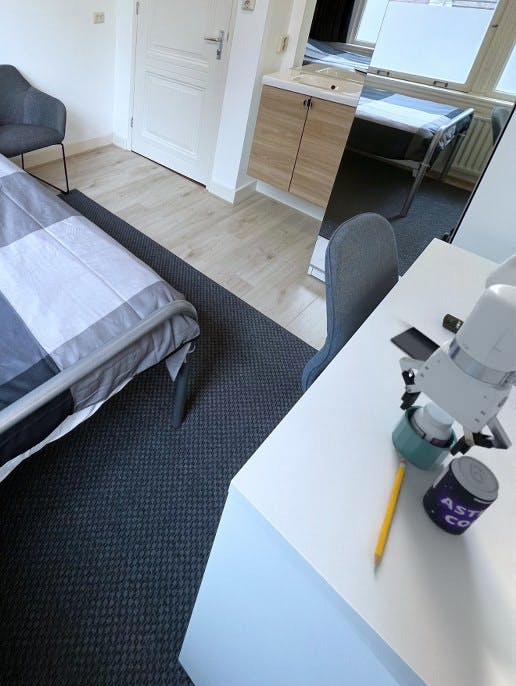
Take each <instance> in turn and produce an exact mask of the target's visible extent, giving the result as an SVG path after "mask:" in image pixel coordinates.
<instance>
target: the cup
mask: <svg viewBox="0 0 516 686" xmlns="http://www.w3.org/2000/svg"><path fill="white" fill-rule="evenodd" d="M423 407H424V406H422V405H412V406H410V407H409V408H407V409H406V410H404V411H403V413H402V415H401V416H400V417H399V420H398V421H397V423H396V424H395V426H394V427H393V429H392V432H391V438H392V441H393V444H394V446H395V448H396V449H397V451H398V452H399V453H400V454H401V455H402V457H403V458H404V459H405V460H406V461H408V462H409V463H411V464H412V465H413V466H415V467H417V468H419V469H422V470H425V471H435V470H438V469H439V468H440V467H441V466H442V465H443V464H444V463H445V461H446V460H447V459H448V458H449V456H450V455H451V454H450V453H451V452H450V450H451V449H452V448H453V446H454V445H455V444H456V443H457V441H458V437H457V436H456V435H457V434H456V431H455V430H454V429H453V428H452V427H451V429H452V434H451V437H450V438H449V440H448V441H447V442H446V444H445V445H444V446H443V448H440V447H437V446H434V445H431V444H430V443H428V442H427V441H425V440H423V439H422V438H421V437H420V436H419V435H418V434H417V433H416V432H415V431H414V430H413V428H412V427H411V425H410V424H409V421H410V419H411V418H412V416H413V415H414V413H415V411H416V410H417V409H419V408H423Z"/></svg>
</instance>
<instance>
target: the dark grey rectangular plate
mask: <svg viewBox="0 0 516 686" xmlns="http://www.w3.org/2000/svg"><path fill="white" fill-rule="evenodd" d="M390 341H391V342H393V343H394V344H395V345H396V346H397V347H399V348H400V349H401V350H402V351H404V352H405V353H406V354H408V355H409V356H410V358H412V359H416V360H421V361H425V362H426V361H427V360H428V359H429V358H430V356H431V355H432V354H433V353H434V352H435V351H436V350H437V349H438V348H439V347H440V346H441V345H440V344H438V343H436V342H435V341H434V340H432V339H431V338H430V337H429V336H428V335H426V334H424V333H423V332H422V331H420V330H419V329H418V328H417V327H415V326H411V327H410V328H408V329H406V330H404V331H402V332H401V333H399V334H397V335H395V336H393V337H391V338H390Z"/></svg>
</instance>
